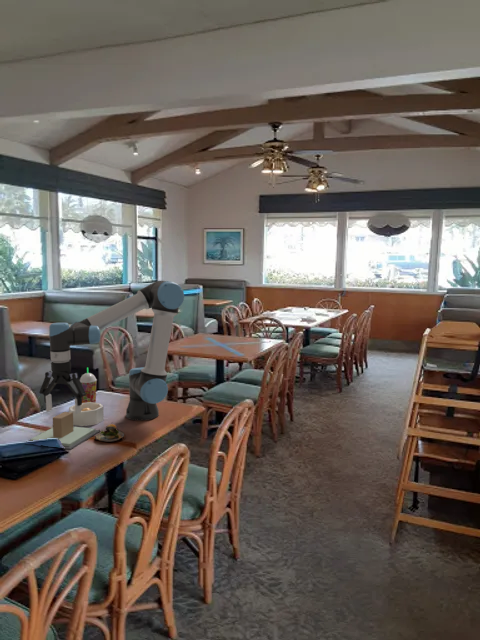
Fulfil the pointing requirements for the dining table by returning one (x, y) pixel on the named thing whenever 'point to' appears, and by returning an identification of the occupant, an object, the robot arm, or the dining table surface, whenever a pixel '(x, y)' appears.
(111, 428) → the burger
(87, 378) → the smoothie
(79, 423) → the bowl
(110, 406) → the dining table surface
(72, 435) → the lid
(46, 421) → the dining table surface
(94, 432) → the mat
